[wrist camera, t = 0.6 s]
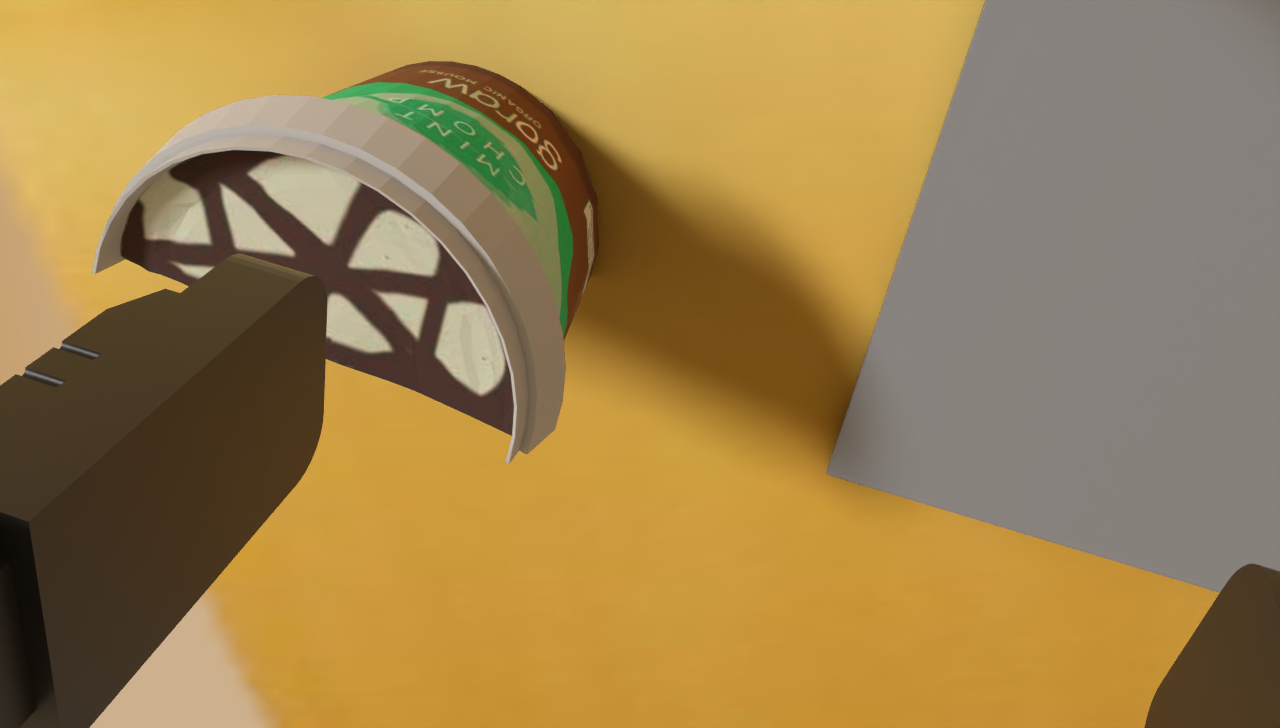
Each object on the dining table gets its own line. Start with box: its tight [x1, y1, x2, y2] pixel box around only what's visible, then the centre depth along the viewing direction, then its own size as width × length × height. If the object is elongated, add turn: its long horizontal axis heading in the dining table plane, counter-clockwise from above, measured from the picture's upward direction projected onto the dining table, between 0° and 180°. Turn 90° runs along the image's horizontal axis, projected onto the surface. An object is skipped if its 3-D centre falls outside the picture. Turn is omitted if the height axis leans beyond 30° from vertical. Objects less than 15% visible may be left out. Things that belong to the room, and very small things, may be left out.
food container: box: [92, 61, 599, 464], centre depth 30 cm, size 12×6×10 cm, turn 70°
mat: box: [827, 0, 1280, 592], centre depth 30 cm, size 22×14×1 cm, turn 169°
